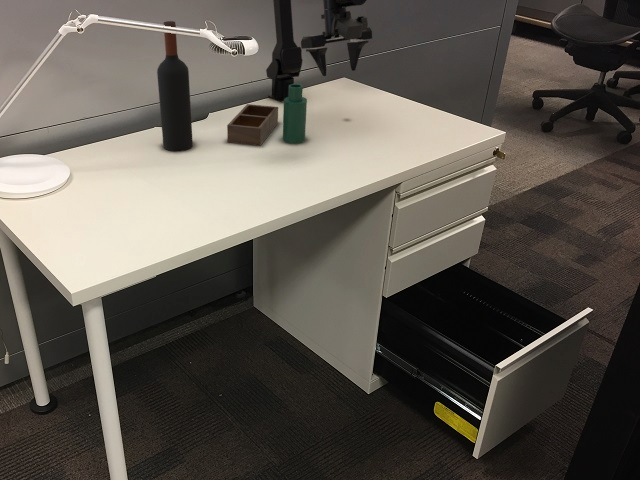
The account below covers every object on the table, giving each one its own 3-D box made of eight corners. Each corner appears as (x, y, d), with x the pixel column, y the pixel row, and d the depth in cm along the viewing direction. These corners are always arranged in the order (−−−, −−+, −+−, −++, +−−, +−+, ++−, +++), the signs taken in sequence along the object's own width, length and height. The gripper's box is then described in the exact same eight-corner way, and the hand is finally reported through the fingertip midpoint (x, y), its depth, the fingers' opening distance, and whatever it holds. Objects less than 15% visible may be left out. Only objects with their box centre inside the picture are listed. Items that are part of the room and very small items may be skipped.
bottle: (278, 139, 175) (279, 85, 167) (294, 133, 178) (296, 80, 170) (293, 145, 171) (295, 91, 163) (309, 140, 174) (312, 86, 166)
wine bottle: (157, 148, 171) (146, 24, 153) (173, 138, 176) (164, 17, 159) (182, 153, 168) (174, 27, 150) (198, 143, 173) (191, 20, 156)
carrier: (247, 120, 187) (247, 103, 184) (277, 123, 184) (278, 106, 182) (227, 142, 173) (227, 125, 171) (260, 145, 171) (260, 128, 168)
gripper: (322, 10, 158) (327, 79, 164) (385, 1, 165) (387, 68, 171) (297, 13, 167) (302, 78, 173) (357, 5, 174) (360, 68, 180)
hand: (339, 73), depth 174 cm, fingers open, 9 cm apart
